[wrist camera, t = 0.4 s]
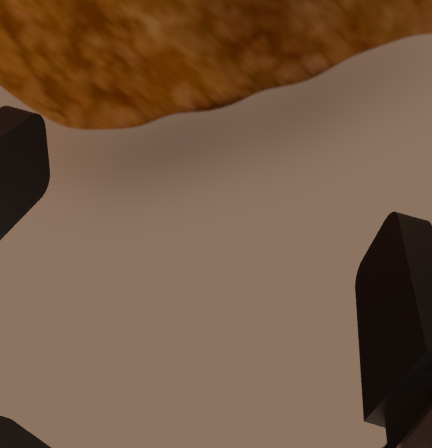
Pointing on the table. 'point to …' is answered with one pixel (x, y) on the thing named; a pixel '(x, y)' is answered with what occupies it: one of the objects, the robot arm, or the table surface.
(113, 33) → the table surface
